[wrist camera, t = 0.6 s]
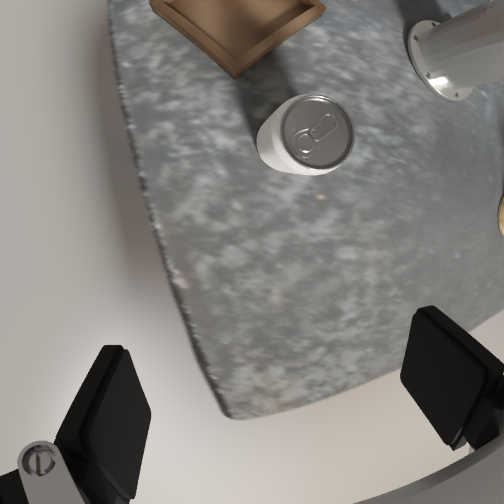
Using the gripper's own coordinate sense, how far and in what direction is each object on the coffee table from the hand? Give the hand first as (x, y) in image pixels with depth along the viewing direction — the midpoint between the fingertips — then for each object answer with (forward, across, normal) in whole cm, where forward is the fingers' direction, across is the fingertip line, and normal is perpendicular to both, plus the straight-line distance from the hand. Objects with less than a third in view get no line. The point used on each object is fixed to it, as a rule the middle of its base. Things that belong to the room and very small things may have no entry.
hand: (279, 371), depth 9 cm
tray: (+26, -2, -25) cm, 36 cm away
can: (+26, -6, -8) cm, 27 cm away
